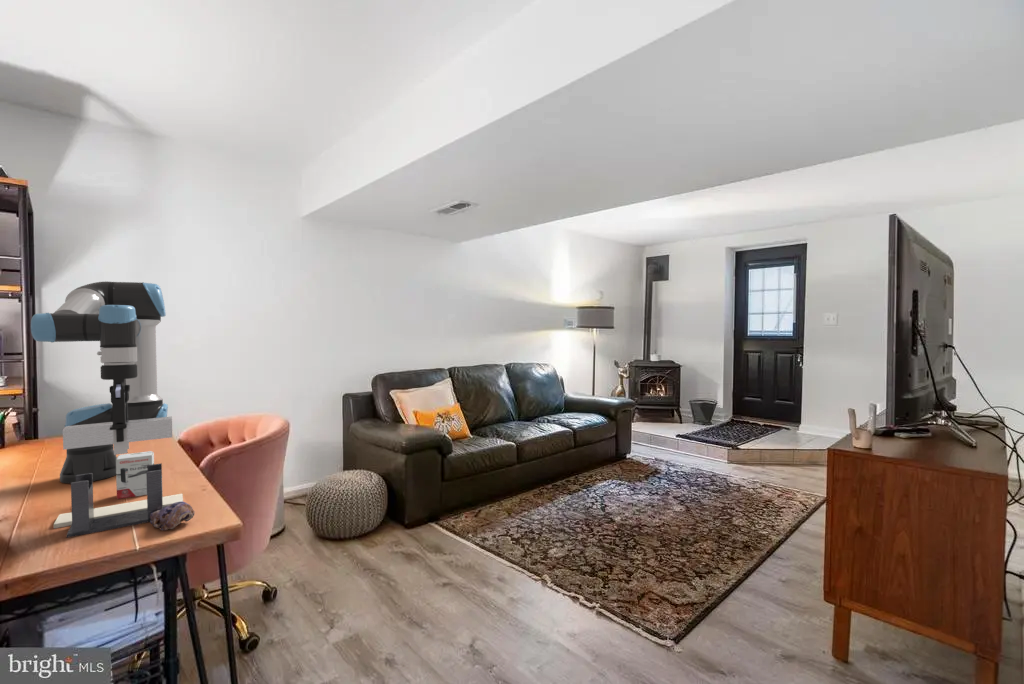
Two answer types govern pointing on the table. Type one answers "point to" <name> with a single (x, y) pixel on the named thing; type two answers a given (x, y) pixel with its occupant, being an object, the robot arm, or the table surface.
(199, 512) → the table surface
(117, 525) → the stand
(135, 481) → the ink box
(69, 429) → the whetstone
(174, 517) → the purple rock
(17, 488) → the table surface
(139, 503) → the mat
